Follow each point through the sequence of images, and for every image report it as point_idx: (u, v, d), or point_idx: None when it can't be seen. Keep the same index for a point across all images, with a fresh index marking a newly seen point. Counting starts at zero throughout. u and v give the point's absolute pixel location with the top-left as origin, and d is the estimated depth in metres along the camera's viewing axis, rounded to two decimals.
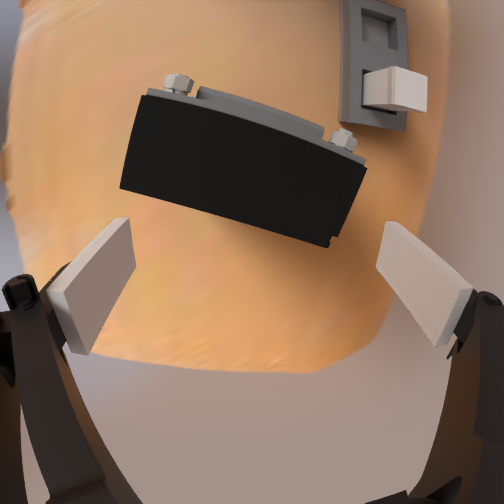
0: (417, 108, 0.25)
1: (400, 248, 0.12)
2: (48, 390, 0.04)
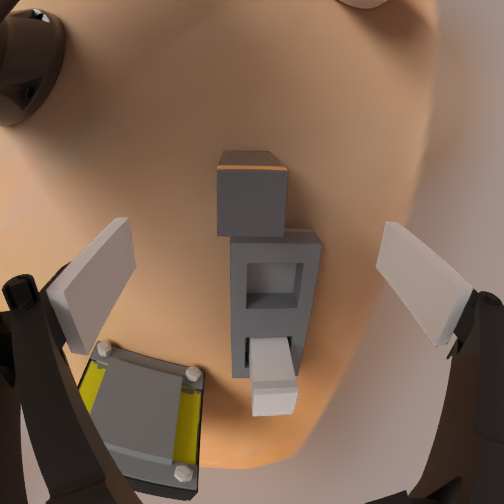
0: (281, 414, 0.28)
1: (400, 248, 0.12)
2: (48, 390, 0.04)
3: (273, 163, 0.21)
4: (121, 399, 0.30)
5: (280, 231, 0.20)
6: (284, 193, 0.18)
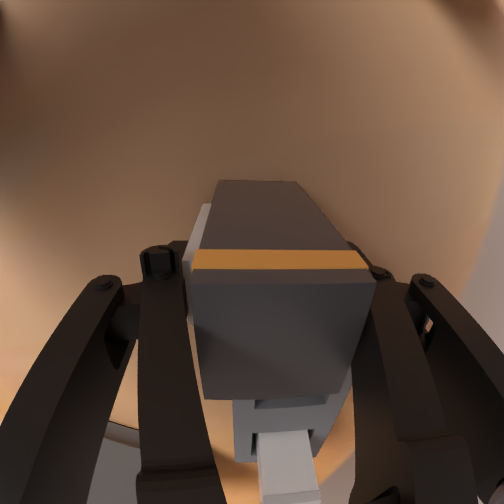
0: None
1: None
2: (174, 365, 0.06)
3: (323, 231, 0.10)
4: (102, 486, 0.19)
5: (335, 387, 0.08)
6: (358, 327, 0.07)
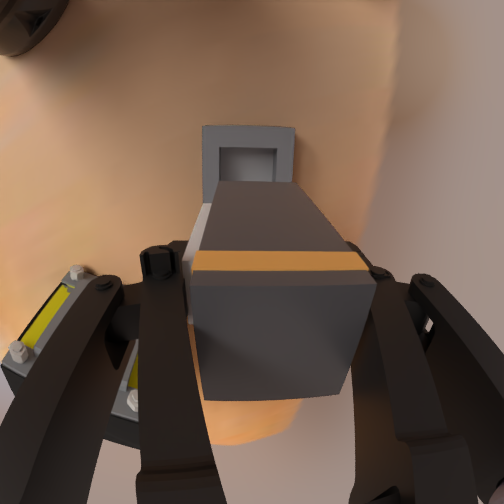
0: None
1: None
2: (174, 365, 0.06)
3: (323, 232, 0.10)
4: None
5: (335, 389, 0.08)
6: (358, 328, 0.07)
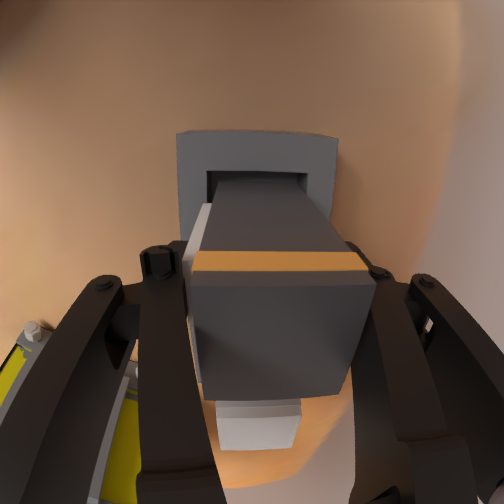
0: (270, 448, 0.15)
1: None
2: (174, 364, 0.06)
3: (323, 232, 0.10)
4: None
5: (334, 388, 0.08)
6: (358, 328, 0.07)
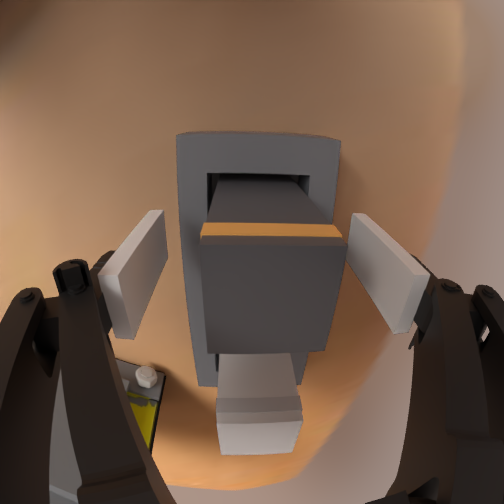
0: (271, 453, 0.15)
1: (364, 238, 0.13)
2: (94, 377, 0.05)
3: (308, 211, 0.12)
4: None
5: (320, 344, 0.10)
6: (336, 285, 0.09)
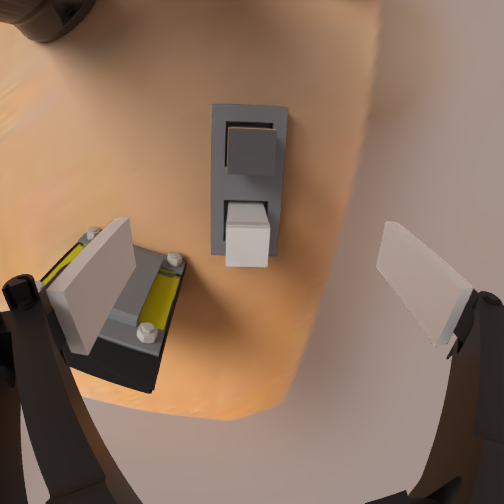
0: (255, 265, 0.31)
1: (400, 248, 0.12)
2: (48, 390, 0.04)
3: None
4: None
5: (271, 171, 0.27)
6: (274, 144, 0.26)
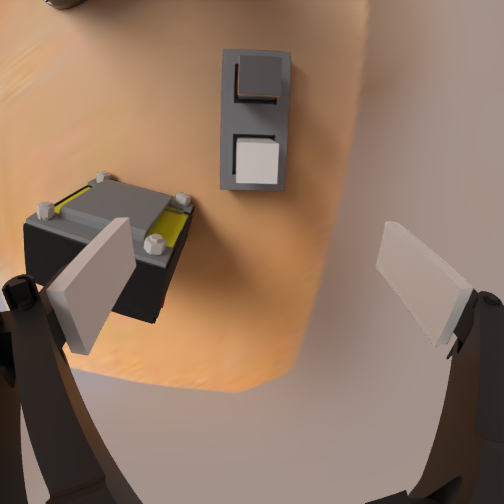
0: (265, 182, 0.31)
1: (400, 248, 0.12)
2: (49, 390, 0.04)
3: None
4: (109, 195, 0.33)
5: (278, 91, 0.27)
6: (280, 68, 0.26)
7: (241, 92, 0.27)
